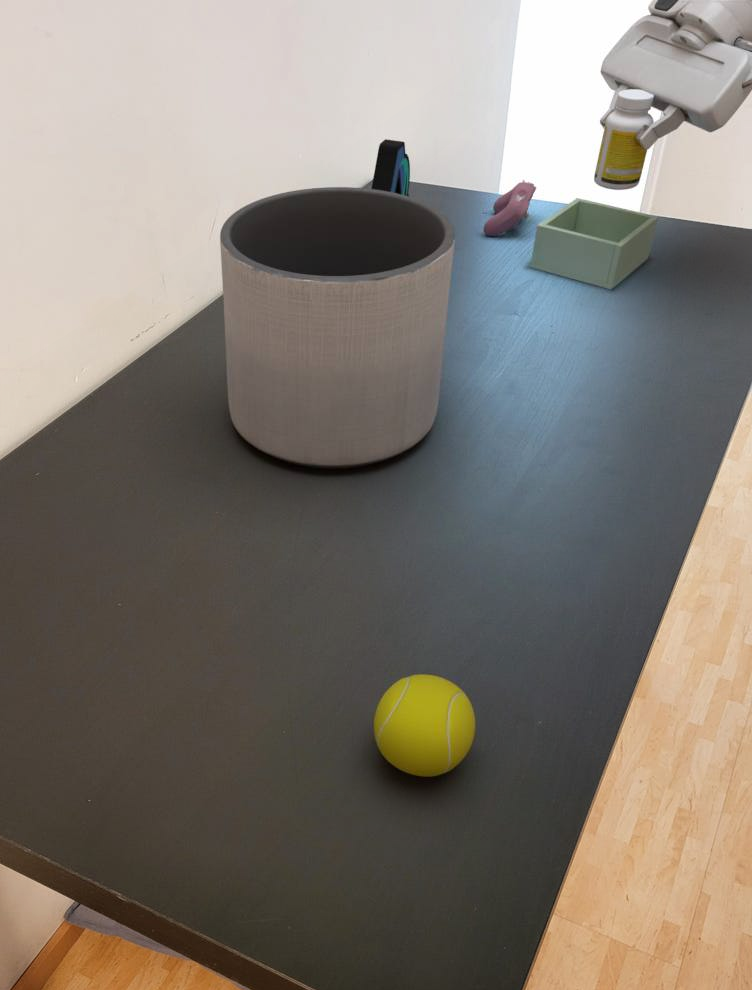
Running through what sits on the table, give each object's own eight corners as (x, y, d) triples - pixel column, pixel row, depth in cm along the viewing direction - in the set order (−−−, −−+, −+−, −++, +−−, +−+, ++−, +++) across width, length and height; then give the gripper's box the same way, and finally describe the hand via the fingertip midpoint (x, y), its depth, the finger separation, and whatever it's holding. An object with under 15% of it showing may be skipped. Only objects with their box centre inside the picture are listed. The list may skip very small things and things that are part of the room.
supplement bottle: (647, 187, 113) (670, 97, 106) (608, 193, 112) (628, 103, 105) (623, 172, 117) (643, 84, 110) (584, 178, 116) (602, 90, 109)
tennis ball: (358, 776, 67) (362, 713, 62) (389, 708, 72) (396, 643, 67) (453, 808, 65) (465, 745, 60) (479, 735, 69) (492, 671, 64)
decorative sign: (368, 289, 122) (375, 167, 112) (351, 286, 123) (355, 165, 113) (416, 235, 134) (426, 120, 124) (400, 232, 135) (408, 118, 125)
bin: (647, 258, 127) (658, 216, 123) (611, 289, 121) (621, 246, 117) (568, 238, 132) (577, 197, 128) (529, 267, 126) (537, 225, 122)
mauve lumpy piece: (506, 250, 134) (536, 207, 128) (479, 232, 133) (508, 188, 128) (516, 224, 140) (545, 182, 135) (491, 207, 140) (519, 164, 134)
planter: (254, 359, 110) (246, 179, 96) (443, 374, 106) (465, 190, 92) (207, 466, 95) (190, 272, 81) (426, 488, 91) (448, 289, 77)
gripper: (790, 72, 101) (689, 181, 106) (669, 30, 115) (584, 128, 120) (771, 29, 97) (667, 144, 102) (648, -9, 111) (561, 94, 115)
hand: (621, 135), depth 111 cm, fingers closed on supplement bottle, 5 cm apart
